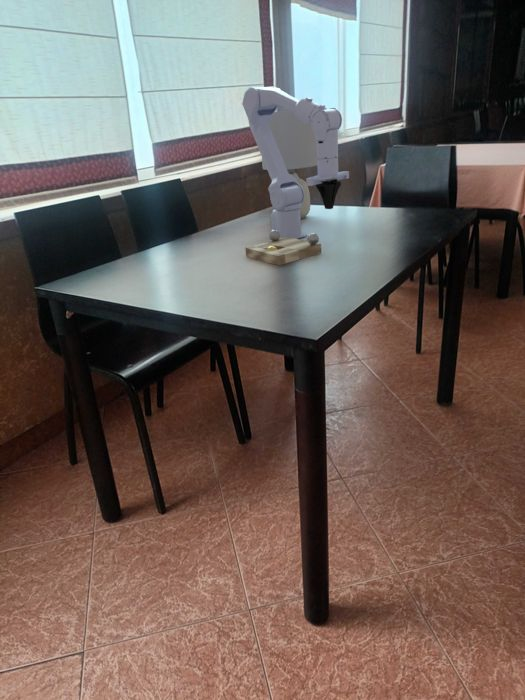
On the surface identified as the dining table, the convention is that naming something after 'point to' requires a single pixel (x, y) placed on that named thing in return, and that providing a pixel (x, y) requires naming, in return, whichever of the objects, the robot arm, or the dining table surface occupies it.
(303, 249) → the plate
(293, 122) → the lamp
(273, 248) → the ball
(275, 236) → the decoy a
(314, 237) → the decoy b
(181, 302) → the dining table surface
